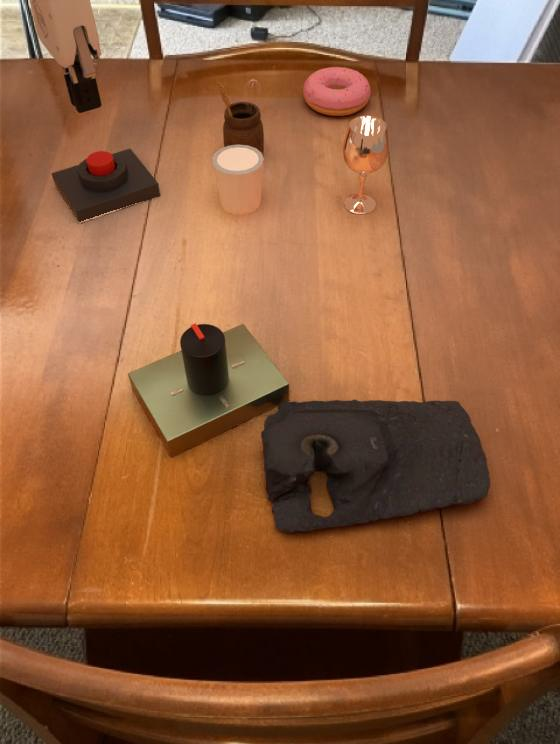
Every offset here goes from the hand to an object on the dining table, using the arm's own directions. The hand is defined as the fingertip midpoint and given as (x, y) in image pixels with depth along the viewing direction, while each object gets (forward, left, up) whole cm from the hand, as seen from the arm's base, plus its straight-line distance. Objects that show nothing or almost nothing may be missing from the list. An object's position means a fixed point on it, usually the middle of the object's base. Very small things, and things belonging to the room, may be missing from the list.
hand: (86, 105), depth 86 cm
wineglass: (+29, -21, -13) cm, 38 cm away
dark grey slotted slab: (+6, -56, -13) cm, 58 cm away
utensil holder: (+21, -2, -13) cm, 25 cm away
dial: (-4, -40, -10) cm, 41 cm away
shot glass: (+15, -12, -13) cm, 23 cm away
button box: (0, 0, -13) cm, 13 cm away
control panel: (-4, -40, -13) cm, 42 cm away
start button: (0, 0, -10) cm, 10 cm away
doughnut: (+41, +3, -13) cm, 43 cm away
